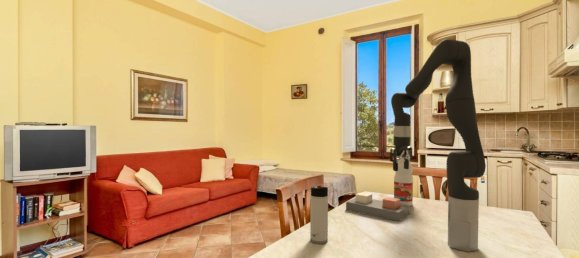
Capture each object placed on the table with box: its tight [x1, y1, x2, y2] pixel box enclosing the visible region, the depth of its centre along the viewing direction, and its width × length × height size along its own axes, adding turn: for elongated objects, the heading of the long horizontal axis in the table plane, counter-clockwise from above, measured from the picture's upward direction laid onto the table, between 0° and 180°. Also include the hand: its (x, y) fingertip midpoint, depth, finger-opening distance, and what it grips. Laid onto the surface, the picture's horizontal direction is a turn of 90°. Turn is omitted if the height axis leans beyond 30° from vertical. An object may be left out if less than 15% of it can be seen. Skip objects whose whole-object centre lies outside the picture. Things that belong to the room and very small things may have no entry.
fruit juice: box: [393, 157, 414, 207], centre depth 159 cm, size 9×9×28 cm
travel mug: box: [309, 186, 329, 245], centre depth 109 cm, size 6×7×20 cm
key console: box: [345, 197, 411, 222], centre depth 145 cm, size 14×26×4 cm, turn 49°
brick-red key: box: [382, 196, 400, 209], centre depth 140 cm, size 6×6×4 cm
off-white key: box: [355, 191, 373, 204], centre depth 149 cm, size 6×6×4 cm
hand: (401, 169), depth 141 cm, fingers open, 8 cm apart
